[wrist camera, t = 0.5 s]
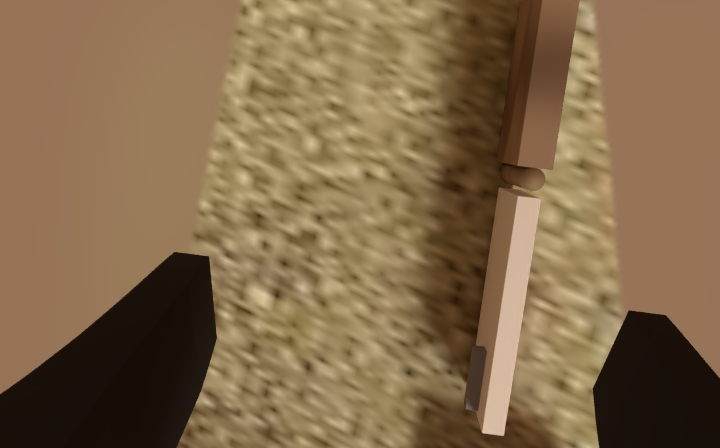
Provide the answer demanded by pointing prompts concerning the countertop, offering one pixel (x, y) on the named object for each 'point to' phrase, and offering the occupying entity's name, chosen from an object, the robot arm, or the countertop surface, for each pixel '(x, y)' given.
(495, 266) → the door
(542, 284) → the countertop surface
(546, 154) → the brown slab
